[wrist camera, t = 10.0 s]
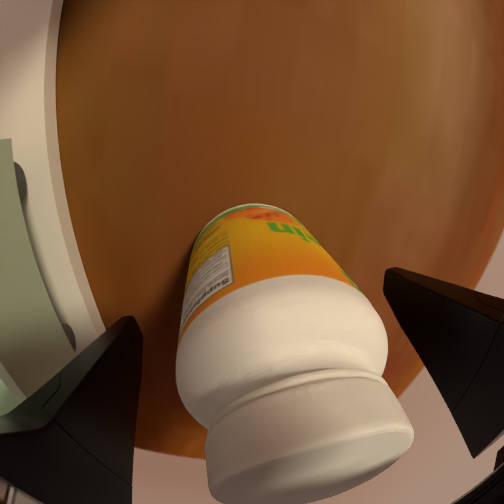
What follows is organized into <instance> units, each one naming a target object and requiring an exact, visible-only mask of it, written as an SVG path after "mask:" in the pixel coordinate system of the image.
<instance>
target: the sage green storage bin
mask: <svg viewBox="0 0 504 504" xmlns="http://www.w3.org/2000/svg"><path fill="white" fill-rule="evenodd" d="M25 193H26V178H25V174H24V171H23V169H22V167H21V166H20V165H19V164H18V163H16V162H14V160H13V151H12V140H11V138H8V139H1V140H0V416H2V415H5V414H7V413H9V412H10V411H11V410H13V409H14V408H15V407H17V406H18V405H19V404H20V403H22V402H23V401H24V400H25V399H27V398H28V397H29V396H31V395H32V394H33V393H34V392H36V391H37V390H38V389H39V388H40V387H42V386H43V385H44V384H45V383H46V382H48V381H49V380H50V379H51V378H52V377H53V376H54V375H56V374H57V373H58V372H60V370H61V369H62V368H63V367H65V366H66V365H67V364H68V363H69V362H70V361H71V360H72V359H74V358H75V357H76V354H75V350H76V341H75V336H74V333H73V330H72V328H71V327H70V326H69V325H68V324H60V322H59V319H58V317H57V315H56V313H55V310H54V308H53V306H52V303H51V301H50V298H49V296H48V293H47V291H46V288H45V286H44V283H43V280H42V277H41V275H40V272H39V269H38V266H37V263H36V260H35V257H34V254H33V250H32V247H31V244H30V240H29V236H28V233H27V229H26V225H25V221H24V217H23V212H22V208H21V202H22V201H23V199H24V197H25Z"/></svg>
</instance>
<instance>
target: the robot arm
mask: <svg viewBox="0 0 504 504" xmlns="http://www.w3.org/2000/svg"><path fill="white" fill-rule="evenodd" d="M383 293H384V295H385V297H386V299H387V301H388V303H389V305H390V307H391V309H392V311H393V313H394V315H395V317H396V319H397V321H398V322H399V324H400V326H401V328H402V329H403V331H404V333H405V334H406V336H407V337H408V339H409V340H410V342H411V344H412V345H413V347H414V348H415V350H416V352H417V353H418V355H419V357H420V358H421V360H422V362H423V363H424V365H425V367H426V368H427V370H428V372H429V374H430V375H431V377H432V378H433V381H434V382H435V384H436V386H437V387H438V390H439V391H440V393H441V395H442V397H443V399H444V401H445V402H446V404H447V406H448V408H449V410H450V412H451V413H452V416H453V418H454V420H455V422H456V424H457V426H458V428H459V430H460V432H461V434H462V436H463V438H464V441H465V443H466V445H467V447H468V449H469V451H470V453H471V456H472V457H473V459H474V458H476V457H477V456H478V455H480V454H481V453H482V452H483V451H485V450H486V449H487V448H488V447H490V446H491V445H492V444H493V443H494V442H496V441H497V440H498V439H499V438H500V437H501V436H502V435H504V299H502V298H498V297H494V296H491V295H487V294H484V293H481V292H478V291H473V290H471V289H468V288H465V287H461V286H458V285H455V284H452V283H448V282H445V281H442V280H438V279H435V278H432V277H428V276H425V275H422V274H418V273H415V272H411V271H408V270H405V269H401V268H398V267H393V268H389V269H387V270H386V271H385V276H384V285H383ZM142 350H143V336H142V333H141V331H140V329H139V326H138V324H137V322H136V319H135V318H134V317H133V316H124V317H121V318H120V319H119V320H118V321H117V322H115V323H114V324H113V325H112V326H111V327H110V328H108V329H107V330H106V331H105V332H104V333H102V334H101V335H100V336H99V337H98V338H97V339H95V340H94V341H93V342H92V343H91V344H90V345H89V346H87V347H86V348H85V349H84V350H83V351H82V352H80V353H79V354H78V355H77V356H76V357H75V358H74V359H72V360H71V361H70V362H69V363H68V364H67V365H66V366H65V367H63V368H62V369H61V370H60V372H58V373H57V374H56V375H54V376H53V377H52V378H51V379H50V380H49V381H48V382H46V383H45V384H44V385H43V386H42V387H40V388H39V389H38V390H37V391H36V392H34V393H33V394H32V395H31V396H29V397H28V398H27V399H25V400H24V401H23V402H22V403H20V404H19V405H18V406H17V407H15V408H14V409H13V410H11V411H10V412H9V413H7V414H5V415H2V416H0V504H132V486H131V485H132V473H133V455H134V441H135V429H136V419H137V409H138V401H139V393H140V385H141V377H142ZM451 504H504V446H503V447H502V448H501V449H500V450H499V451H498V452H497V457H496V462H495V467H494V471H493V472H492V473H491V474H490V475H489V476H488V477H486V478H485V479H484V480H483V481H481V482H480V483H479V484H478V485H476V486H475V487H474V488H472V489H471V490H470V491H468V492H467V493H466V494H464V495H463V496H461V497H460V498H458V499H457V500H456V501H454V502H453V503H451Z"/></svg>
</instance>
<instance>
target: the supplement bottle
mask: <svg viewBox="0 0 504 504" xmlns="http://www.w3.org/2000/svg"><path fill="white" fill-rule="evenodd" d="M387 354H388V343H387V335H386V331H385V328H384V325H383V322H382V321H381V319H380V317H379V315H378V314H377V312H376V311H375V309H374V308H373V307H372V305H371V304H370V302H369V301H368V299H367V298H366V297H365V296H364V294H363V293H362V292H361V291H360V290H359V289H358V288H357V286H356V285H355V284H354V283H353V282H352V281H351V280H350V278H349V277H348V276H347V275H346V274H345V273H344V271H343V270H342V269H341V268H340V267H339V266H338V264H337V263H336V262H335V261H334V260H333V259H332V258H331V257H330V255H329V254H328V253H327V252H326V251H325V250H324V249H323V248H322V246H321V245H320V244H319V243H318V242H317V241H316V240H315V238H314V237H313V236H312V235H311V234H310V233H309V232H308V231H307V229H306V228H305V227H304V226H303V225H302V224H301V223H300V222H299V221H298V220H297V219H296V218H294V217H293V216H292V215H290V214H289V213H287V212H286V211H284V210H282V209H280V208H277V207H274V206H271V205H266V204H244V205H239V206H236V207H233V208H230V209H228V210H226V211H224V212H222V213H220V214H219V215H217V216H216V217H215V218H213V219H212V220H211V221H210V222H209V223H208V224H207V225H206V226H205V227H204V228H203V229H202V231H201V232H200V234H199V235H198V237H197V239H196V241H195V244H194V246H193V250H192V253H191V257H190V262H189V268H188V275H187V281H186V287H185V294H184V301H183V308H182V316H181V324H180V331H179V340H178V346H177V356H176V384H177V389H178V393H179V396H180V398H181V400H182V402H183V404H184V406H185V408H186V409H187V411H188V412H189V413H190V414H191V416H192V417H193V418H194V419H195V420H196V421H197V422H199V423H200V424H201V425H202V426H204V427H205V428H207V429H208V432H207V438H206V441H205V455H206V466H207V476H208V485H209V490H210V493H211V495H212V496H213V497H214V498H215V499H216V500H217V501H219V502H221V503H223V504H306V503H310V502H315V501H318V500H322V499H325V498H329V497H332V496H334V495H337V494H340V493H342V492H345V491H347V490H349V489H352V488H354V487H356V486H358V485H360V484H362V483H364V482H366V481H368V480H370V479H372V478H373V477H375V476H376V475H378V474H379V473H381V472H382V471H384V470H385V469H387V468H388V467H390V466H391V465H392V464H393V463H395V462H396V461H397V460H398V459H399V458H400V457H401V456H402V455H403V454H404V453H405V452H406V451H407V449H408V448H409V447H410V445H411V444H412V441H413V438H414V432H413V428H412V426H411V424H410V422H409V420H408V418H407V416H406V414H405V412H404V411H403V409H402V407H401V405H400V403H399V402H398V400H397V398H396V397H395V395H394V393H393V392H392V390H391V389H390V388H389V386H388V384H387V383H386V381H385V380H384V379H383V378H382V377H381V376H382V374H383V371H384V368H385V365H386V360H387Z"/></svg>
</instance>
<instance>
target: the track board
mask: <svg viewBox="0 0 504 504" xmlns="http://www.w3.org/2000/svg"><path fill="white" fill-rule="evenodd" d="M62 5H63V0H0V140H1V139H8V138H11V140H12V151H13V160H14V162H16V163H18V164H19V165H20V166H21V167H22V169H23V171H24V174H25V178H26V193H25V197H24V199H23V201H22V202H21V208H22V212H23V217H24V221H25V225H26V229H27V233H28V236H29V240H30V244H31V247H32V250H33V254H34V257H35V260H36V263H37V266H38V269H39V272H40V275H41V277H42V280H43V283H44V286H45V288H46V291H47V293H48V296H49V298H50V301H51V303H52V306H53V308H54V310H55V313H56V315H57V317H58V319H59V322H60V324H68V325H69V326H70V327H71V328H72V330H73V333H74V336H75V341H76V350H75V354H76V356H77V355H78V354H79V353H80V352H82V351H83V350H84V349H85V348H86V347H87V346H89V345H90V344H91V343H92V342H93V341H94V340H95V339H97V338H98V337H99V336H100V335H101V334H102V333H104V332H105V331H106V329H105V326H104V324H103V322H102V319H101V316H100V314H99V311H98V309H97V306H96V303H95V300H94V298H93V295H92V292H91V289H90V286H89V283H88V280H87V277H86V274H85V271H84V267H83V264H82V261H81V257H80V254H79V250H78V247H77V243H76V239H75V235H74V231H73V227H72V223H71V218H70V214H69V209H68V204H67V199H66V194H65V188H64V182H63V176H62V169H61V162H60V154H59V145H58V134H57V120H56V56H57V43H58V33H59V25H60V17H61V11H62Z"/></svg>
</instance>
